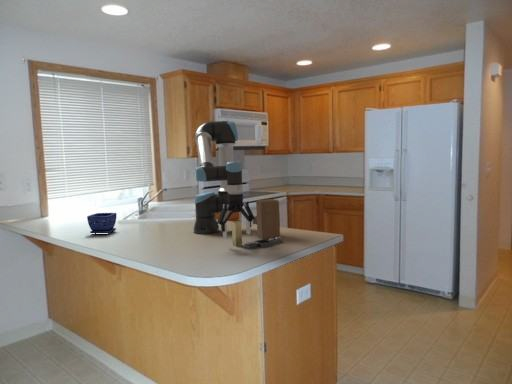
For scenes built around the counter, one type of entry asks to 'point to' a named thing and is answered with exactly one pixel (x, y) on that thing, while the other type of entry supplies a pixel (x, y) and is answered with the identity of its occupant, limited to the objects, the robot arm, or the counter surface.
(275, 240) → the ball-studded metal bracket
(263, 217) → the wooden block
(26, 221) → the counter surface
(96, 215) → the flower pot
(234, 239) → the pin
